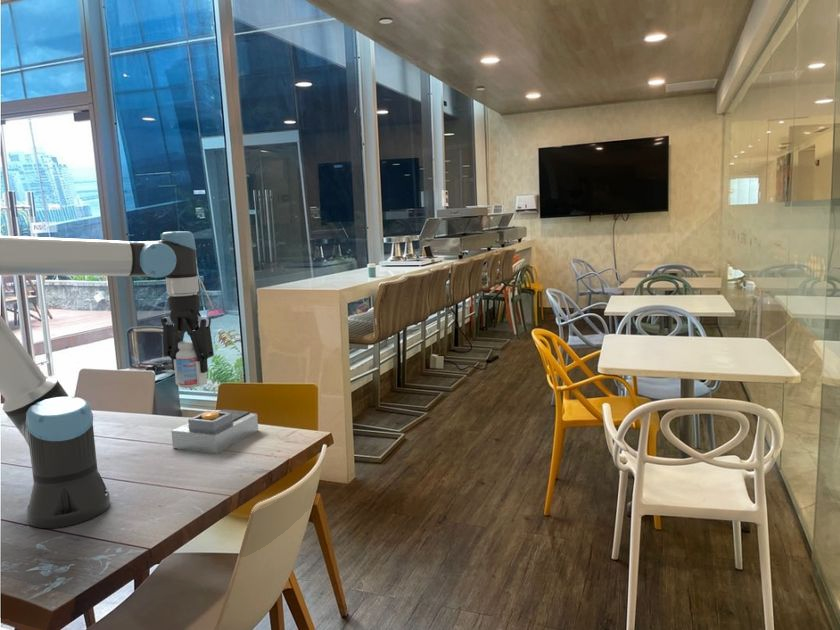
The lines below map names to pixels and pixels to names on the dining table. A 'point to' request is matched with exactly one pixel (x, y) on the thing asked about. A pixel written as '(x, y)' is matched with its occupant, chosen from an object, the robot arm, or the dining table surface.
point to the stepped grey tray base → (215, 431)
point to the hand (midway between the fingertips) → (191, 383)
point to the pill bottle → (186, 365)
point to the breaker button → (210, 416)
